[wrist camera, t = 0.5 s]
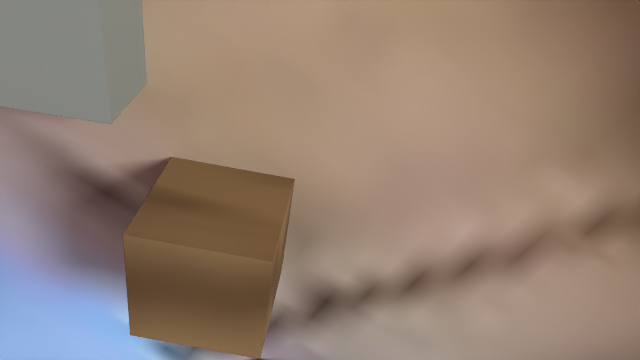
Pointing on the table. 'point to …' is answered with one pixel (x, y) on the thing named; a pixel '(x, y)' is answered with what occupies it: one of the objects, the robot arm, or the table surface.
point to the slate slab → (71, 56)
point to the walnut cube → (207, 256)
